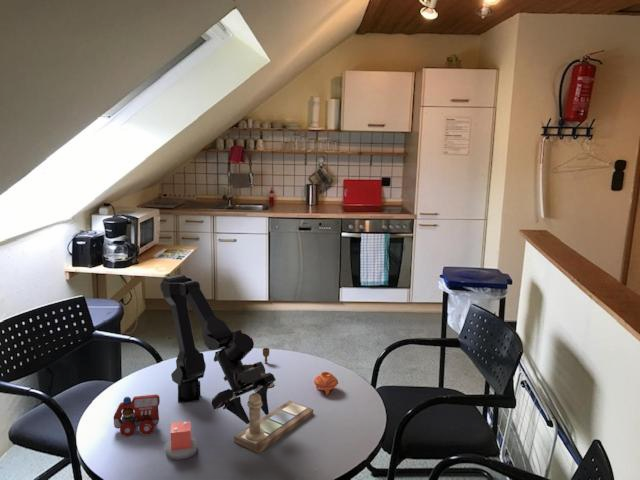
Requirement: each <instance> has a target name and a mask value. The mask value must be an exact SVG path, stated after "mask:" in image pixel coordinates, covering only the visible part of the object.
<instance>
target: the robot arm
mask: <svg viewBox="0 0 640 480" xmlns="http://www.w3.org/2000/svg"><path fill="white" fill-rule="evenodd" d="M159 287H160V291H161V292H162V295H163V299H164V300H165V301H166V302H167V303H168V304H169V305H170V308H171V314H172V319H173V324H174V328H175V329H174V330H175V335H176V339H177V345H178V350H179V351H178V355H177V357H176V360H175V364H176V367H175V370H174V371H173V372H172V373H171V375H170V376H171V380H172V382H174V383H175V384H177V403H178V404H179V403H180V404H181V403H188V402H190V403H191V402H199V401H200V397H201V380H199V379H202V378H204V376H205V371H206V367H207V366H206V362H205V357H204V353H203V352H200V351H199V350H198V349H197V348H196V344H195V337H194V333H193V328H192V323H191V318H190V313H189V308H188V307H190V309H191V310H192V311H193V313H194V315H195V317H196V318H197V321H198V322H199V324H200V326H201V328H202V331H201V337H202V340H203V342H204V345H205V347H206V348H207V349H209V350H212V351H215V350H217V351H215V353H214V357H213V361H214V363H216V362H218V364H219V366H220V368H221V370H222V372H223V374H224V377H223V380H224V382H228V385H229V386H230V388H228V389H225V390H222V391H220V392H218V393H217V394H216V395H214V397H213V398H212V399H211V406H212V408H213V410H214V411H216V410H218V409H220V408H222V410H227V411H229V412H230V413H232V414H234V416H236V417H237V418H238V419H239V420H241V421H242V422H243V423H245V424H246V425H249V423H250V422H249V417H248V415H247V413H246V410H245V409H244V406H243V405H242V401H241V396H242V395H245V394H247V393H249V392H252V391H254V393H258V394H259V395H260V396H261V401H262V406H261V407H260V410H261V412H262V411H263V414H265V416H266V415H268V414H270V412H269V405H268V389H269V387H270V385H271V384H272V383H274V382H276V380H277V379H276V377H275V375H274V374H273V373H271V372H268V373H267V372H266V368H265V365H264V363H263V362H262V361H258V362H255V363H253V367H252V368H248V366H247V365H248V364H243V362H242V360H244V358H245V357H246V356H247V355H248V354H249V353H250V352H251V351H252V350H253V349H254V345H255V344H254V340H253V338H252V337H251V336H250V335H248V334H246V333H245V332H244V333H243V332H242V330H241V329H239V330H238V329H237V330H234V331H233V329H230V327H229V325H227V323H226V322H225V321H224V320H222V319H220V318H219V317H217V315H216V313H215V312H214V310H213V308H212V307H211V304H210V303H209V302H208V301H209V300H208V299H207V298H206V296H205V294H204V292H203V291H202V290H201V284H200V282H199V281H198V280H195V279H194V278H193V277H187V276H186V275H185V274H178V275H172V276H168V277H163V279H162V281H161V282H160V286H159ZM188 305H189V306H188ZM220 348H221V349H220ZM218 349H220V350H218ZM262 373H267V374H265V375H261V374H262ZM255 380H256V381H255ZM254 381H255V382H254ZM252 382H253V383H252ZM270 388H271V387H270Z"/></svg>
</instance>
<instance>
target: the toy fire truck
mask: <svg viewBox="0 0 640 480" xmlns="http://www.w3.org/2000/svg"><path fill="white" fill-rule="evenodd" d="M160 402H161V400H160V395H159V394H148V395H147V394H146V395H139V396H134V397H133V398H131V397H130V396H125V397H124V398H123V401H122V402H120V403H119V405H118V407H117V408H116V411H115V413H114V415H113V425H114V426H113V427H114V428H115V429H119V431H120V434H121V435H122V436H124V437H131V436H133V434H134V433H135V431H136V427H138V431H139V433H140V434H142V435H144V436H145V435H146V436H149V435H151V434H152V433H153V432H154V430H155V425H157V424H159V423H160V417H159V415H160V414H159V412H160V411H159V406H160Z"/></svg>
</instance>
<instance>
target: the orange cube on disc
mask: <svg viewBox="0 0 640 480" xmlns="http://www.w3.org/2000/svg"><path fill="white" fill-rule="evenodd" d="M191 431H192V428H191V420H187V421H176V422H170V438H169V440H168V441H166V443H165V455H166V457H167V458H169V459H171V460H176V461H181V460H187V459H190V458H191V457H193V456H194V455H195V454H196V453H197V451H198V444H197V442H198V441H197V439H196V438H195V437H193V436H191V434H192V433H191Z"/></svg>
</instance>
